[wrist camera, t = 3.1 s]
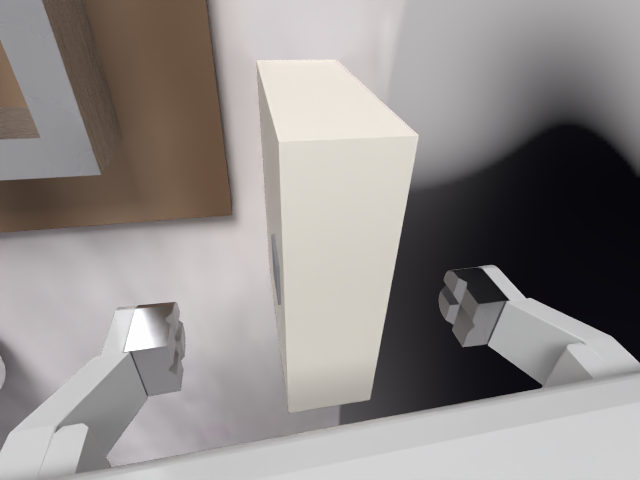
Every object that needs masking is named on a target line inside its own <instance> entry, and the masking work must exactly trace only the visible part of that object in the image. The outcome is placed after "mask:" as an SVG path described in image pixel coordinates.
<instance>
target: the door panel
mask: <svg viewBox="0 0 640 480" xmlns="http://www.w3.org/2000/svg"><path fill="white" fill-rule="evenodd" d="M256 64H257V80H258V96H259V111H260V127H261V142H262V158H263V174H264V189H265V205H266V220H267V236H268V252H269V267H270V276H271V284H272V291H273V299H274V306H275V314H276V321H277V329H278V337H279V344H280V352H281V359H282V367H283V374H284V382H285V390H286V397H287V405H288V412H289V413H293V412H299V411H305V410H311V409H317V408H323V407H329V406H335V405H341V404H347V403H353V402H359V401H365V400H370V396H371V391H372V386H373V380H374V375H375V369H376V364H377V358H378V353H379V348H380V342H381V337H382V332H383V326H384V321H385V316H386V310H387V305H388V299H389V294H390V288H391V283H392V278H393V272H394V267H395V261H396V256H397V251H398V245H399V240H400V235H401V229H402V224H403V218H404V213H405V208H406V202H407V197H408V191H409V186H410V181H411V175H412V169H413V164H414V159H415V154H416V148H417V143H418V138H419V136H418V135H417V134H416V133H415V132H414V131H413V130H412V129H411V128H410V127H409V126H408V125H407V124H406V123H404V122H403V121H402V120H401V119H400V118H399V117H398V116H397V115H396V114H395V113H394V112H393V111H391V110H390V109H389V108H388V107H387V106H386V105H385V104H384V103H383V102H382V101H381V100H379V99H378V98H377V97H376V96H375V95H374V94H373V93H372V92H371V91H370V90H369V89H367V88H366V87H365V86H364V85H363V84H362V83H361V82H360V81H359V80H358V79H357V78H355V77H354V76H353V75H352V74H351V73H350V72H349V71H348V70H347V69H346V68H345V67H344V66H342V65H341V64H340V63H339V62H338V61H337V60H256Z"/></svg>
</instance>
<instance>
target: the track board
mask: <svg viewBox="0 0 640 480" xmlns="http://www.w3.org/2000/svg"><path fill="white" fill-rule="evenodd" d="M84 2H85V6H86V10H87V13H88V17H89V20H90V24H91V27H92V31H93V34H94V38H95V41H96V45H97V48H98V52H99V55H100V59H101V62H102V66H103V69H104V73H105V77H106V80H107V84H108V87H109V91H110V94H111V98H112V101H113V105H114V108H115V112H116V115H117V119H118V122H119V126H120V129H121V133H122V137H123V139H122V141H121V142H120V144H119V146H118V147H117V149H116V151H115V152H114V154H113V156H112V157H111V159H110V161H109V162H108V164H107V166H106V167H105V169H104V171H103V172H102V174H101V175H90V176H72V177H54V178H36V179H18V180H0V233H1V232H15V231H28V230H41V229H54V228H67V227H80V226H94V225H107V224H120V223H133V222H146V221H160V220H173V219H186V218H199V217H212V216H225V215H232V202H231V194H230V186H229V178H228V170H227V162H226V154H225V146H224V138H223V129H222V121H221V113H220V105H219V97H218V89H217V81H216V73H215V65H214V57H213V49H212V41H211V33H210V25H209V16H208V8H207V0H84ZM1 107H28V106H27V103H26V101H25V98H24V96H23V94H22V91H21V89H20V86H19V84H18V82H17V79H16V77H15V74H14V72H13V69H12V67H11V65H10V62H9V60H8V57H7V55H6V53H5V50H4V48H3V45H2V43H1V40H0V108H1Z"/></svg>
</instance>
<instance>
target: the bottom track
mask: <svg viewBox="0 0 640 480" xmlns="http://www.w3.org/2000/svg"><path fill="white" fill-rule="evenodd" d="M0 40H1V43H2V45H3V48H4V50H5V53H6V55H7V57H8V60H9V62H10V65H11V67H12V69H13V72H14V74H15V77H16V79H17V82H18V84H19V86H20V89H21V91H22V94H23V96H24V98H25V101H26V103H27V106H28V107H1V108H0V180H18V179H36V178H54V177H72V176H90V175H101V174H102V172H103V171H104V169H105V167H106V166H107V164H108V162H109V161H110V159H111V157H112V156H113V154H114V152H115V151H116V149H117V147H118V146H119V144H120V142H121V141H122V139H123V137H122V133H121V129H120V126H119V122H118V119H117V115H116V112H115V108H114V105H113V101H112V98H111V94H110V91H109V87H108V84H107V80H106V77H105V73H104V69H103V66H102V62H101V59H100V55H99V52H98V48H97V45H96V41H95V38H94V34H93V31H92V27H91V24H90V20H89V17H88V13H87V10H86V6H85V2H84V0H0Z"/></svg>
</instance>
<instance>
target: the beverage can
mask: <svg viewBox="0 0 640 480" xmlns="http://www.w3.org/2000/svg"><path fill="white" fill-rule="evenodd" d="M5 375H6V371H5V365H4V362H3V360H2V358H1V356H0V389H1V387H2V385H3V383H4V381H5Z"/></svg>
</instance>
